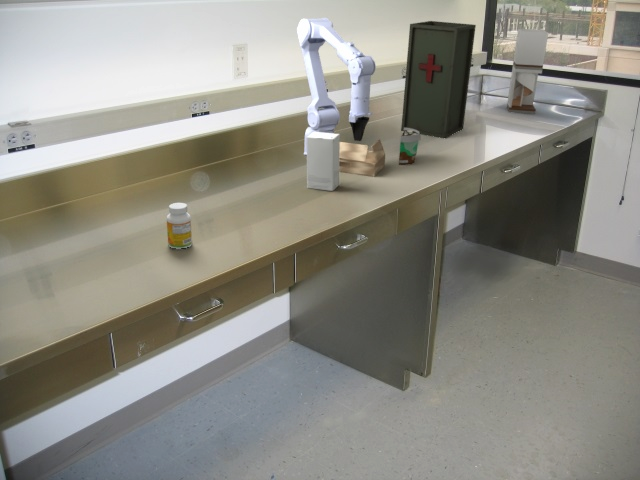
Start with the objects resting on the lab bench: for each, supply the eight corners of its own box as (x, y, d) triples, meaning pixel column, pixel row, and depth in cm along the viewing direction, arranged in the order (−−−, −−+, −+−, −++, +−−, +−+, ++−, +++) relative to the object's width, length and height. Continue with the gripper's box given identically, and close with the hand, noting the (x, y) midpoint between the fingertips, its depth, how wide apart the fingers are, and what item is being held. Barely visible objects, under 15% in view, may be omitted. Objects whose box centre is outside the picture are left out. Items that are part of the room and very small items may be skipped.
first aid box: (463, 129, 262) (475, 24, 246) (445, 138, 247) (457, 28, 231) (420, 122, 271) (430, 20, 255) (401, 130, 256) (410, 23, 240)
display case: (508, 112, 294) (520, 31, 280) (506, 107, 304) (518, 28, 290) (535, 114, 292) (548, 32, 278) (532, 109, 302) (544, 30, 288)
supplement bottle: (169, 240, 152) (167, 201, 149) (193, 240, 153) (191, 201, 149) (166, 250, 148) (164, 209, 144) (191, 250, 148) (188, 209, 144)
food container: (417, 167, 212) (420, 137, 208) (398, 166, 213) (400, 136, 209) (419, 157, 223) (422, 128, 219) (401, 155, 224) (404, 127, 220)
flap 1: (334, 157, 203) (337, 141, 203) (334, 157, 204) (337, 141, 204) (365, 161, 200) (368, 145, 200) (365, 161, 201) (368, 145, 201)
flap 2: (376, 161, 201) (370, 146, 200) (384, 154, 209) (378, 139, 208) (377, 161, 201) (371, 146, 200) (385, 154, 209) (380, 139, 208)
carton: (325, 169, 207) (325, 156, 205) (341, 157, 220) (341, 144, 218) (373, 176, 202) (374, 163, 200) (387, 163, 215) (388, 150, 213)
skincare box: (339, 185, 193) (341, 133, 187) (332, 192, 187) (334, 139, 181) (312, 181, 195) (314, 130, 189) (305, 188, 190) (306, 135, 183)
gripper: (365, 102, 194) (363, 147, 199) (379, 94, 206) (376, 136, 212) (343, 100, 196) (341, 144, 201) (358, 92, 208) (355, 134, 214)
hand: (357, 140), depth 207 cm, fingers closed
